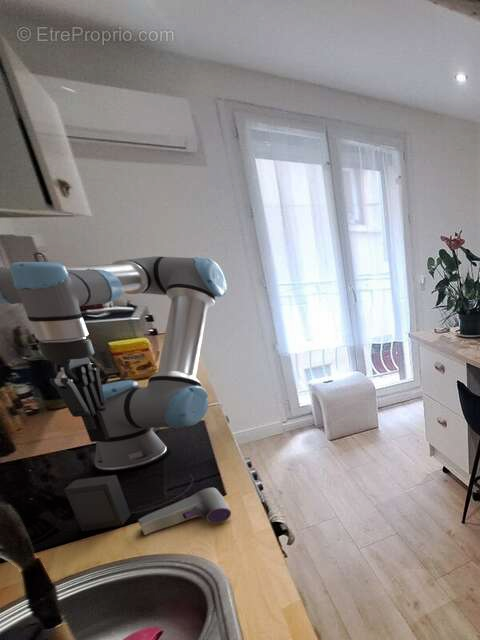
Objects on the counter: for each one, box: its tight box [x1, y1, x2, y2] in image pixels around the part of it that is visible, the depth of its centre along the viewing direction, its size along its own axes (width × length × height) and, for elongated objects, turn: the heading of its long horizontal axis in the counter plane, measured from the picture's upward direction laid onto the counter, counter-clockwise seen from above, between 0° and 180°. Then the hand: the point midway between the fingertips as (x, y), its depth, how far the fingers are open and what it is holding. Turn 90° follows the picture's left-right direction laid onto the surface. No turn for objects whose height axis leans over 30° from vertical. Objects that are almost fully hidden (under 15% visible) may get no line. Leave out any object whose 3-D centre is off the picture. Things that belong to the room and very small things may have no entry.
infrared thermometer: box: [137, 487, 232, 536], centre depth 94 cm, size 5×12×15 cm
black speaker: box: [63, 474, 132, 533], centre depth 91 cm, size 4×7×11 cm, turn 112°
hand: (100, 439), depth 94 cm, fingers closed
